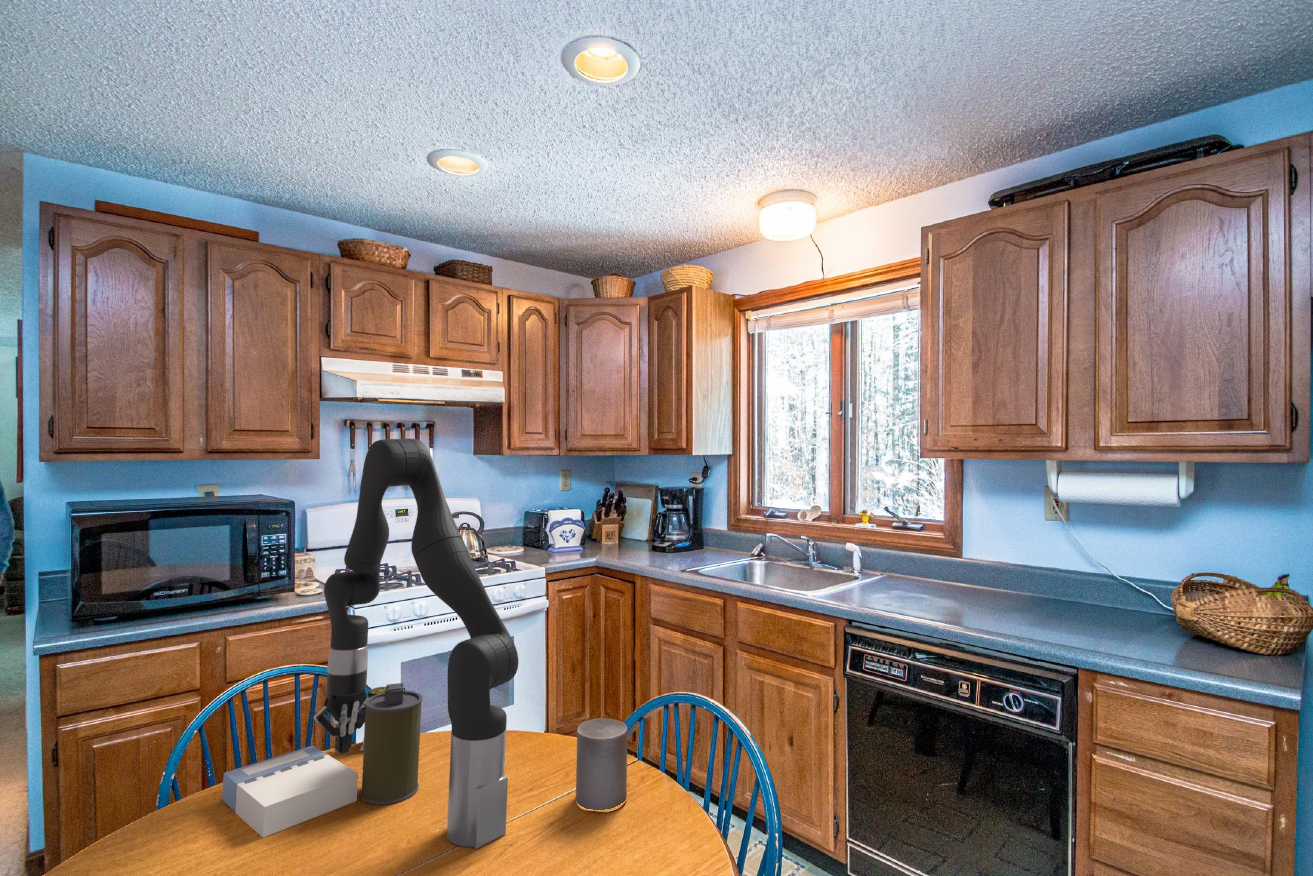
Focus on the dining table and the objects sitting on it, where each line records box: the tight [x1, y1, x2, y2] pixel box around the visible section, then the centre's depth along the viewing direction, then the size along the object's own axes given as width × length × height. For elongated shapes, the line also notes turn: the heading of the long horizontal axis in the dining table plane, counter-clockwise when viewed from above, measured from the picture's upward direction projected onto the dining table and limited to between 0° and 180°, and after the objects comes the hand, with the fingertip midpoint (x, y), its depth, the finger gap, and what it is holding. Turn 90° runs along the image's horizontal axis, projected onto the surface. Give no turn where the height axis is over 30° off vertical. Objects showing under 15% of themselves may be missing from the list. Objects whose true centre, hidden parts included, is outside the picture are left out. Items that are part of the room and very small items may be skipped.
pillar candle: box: [575, 717, 628, 810], centre depth 124 cm, size 10×10×15 cm
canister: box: [359, 682, 424, 806], centre depth 125 cm, size 11×10×20 cm
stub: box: [221, 745, 328, 811], centre depth 124 cm, size 6×16×5 cm, turn 142°
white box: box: [235, 754, 359, 838], centre depth 118 cm, size 12×16×5 cm
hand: (342, 752), depth 134 cm, fingers closed
